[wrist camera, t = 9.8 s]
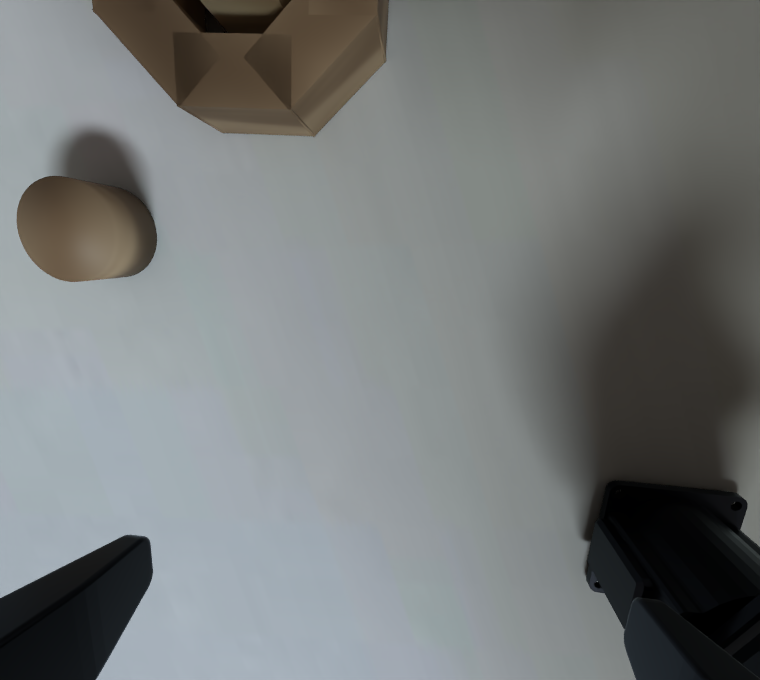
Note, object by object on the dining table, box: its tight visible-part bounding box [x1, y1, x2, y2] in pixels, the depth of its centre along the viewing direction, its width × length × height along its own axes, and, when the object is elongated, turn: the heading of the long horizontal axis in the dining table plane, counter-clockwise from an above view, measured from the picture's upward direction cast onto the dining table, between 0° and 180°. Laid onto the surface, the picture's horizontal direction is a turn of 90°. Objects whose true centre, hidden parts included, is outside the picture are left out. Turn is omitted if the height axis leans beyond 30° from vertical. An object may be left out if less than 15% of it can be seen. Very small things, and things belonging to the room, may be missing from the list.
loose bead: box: [17, 176, 157, 282], centre depth 18 cm, size 4×4×3 cm
